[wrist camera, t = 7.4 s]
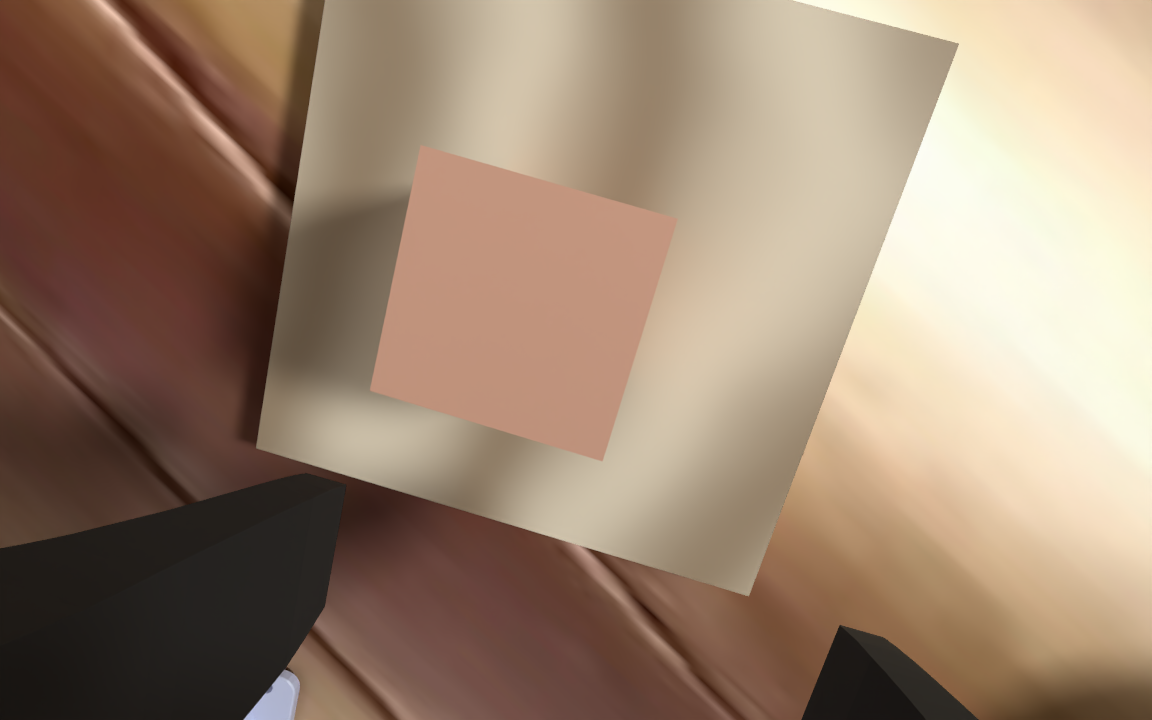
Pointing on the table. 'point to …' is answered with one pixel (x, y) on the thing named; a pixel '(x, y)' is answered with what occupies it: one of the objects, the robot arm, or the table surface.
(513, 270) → the block
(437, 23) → the board
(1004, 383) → the table surface
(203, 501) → the robot arm
